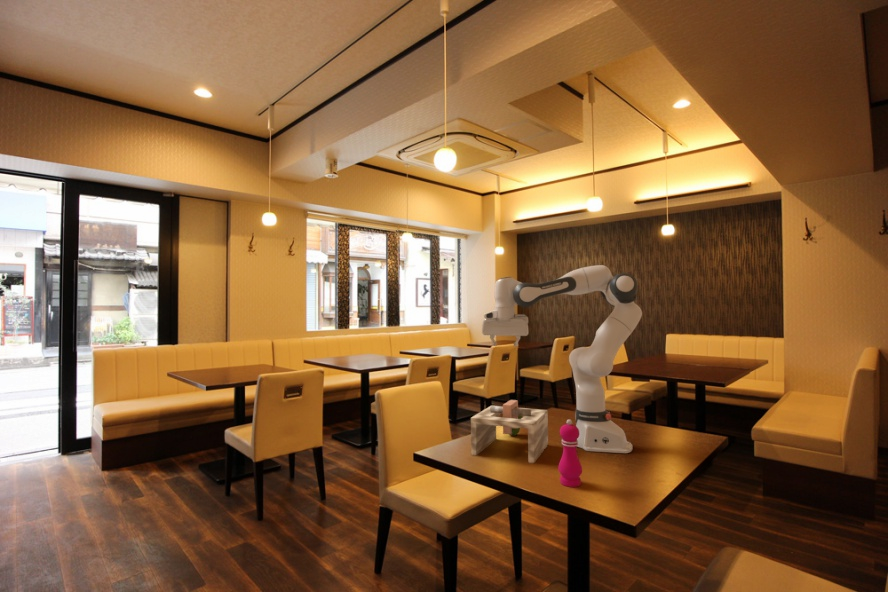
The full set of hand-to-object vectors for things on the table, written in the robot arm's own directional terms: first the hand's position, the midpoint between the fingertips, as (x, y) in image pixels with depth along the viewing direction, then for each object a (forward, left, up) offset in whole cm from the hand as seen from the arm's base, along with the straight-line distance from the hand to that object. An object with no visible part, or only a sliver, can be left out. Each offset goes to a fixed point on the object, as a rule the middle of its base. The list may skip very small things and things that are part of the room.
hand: (505, 346), depth 198 cm
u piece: (-7, +17, -32) cm, 37 cm away
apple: (-2, -3, -39) cm, 39 cm away
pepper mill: (-34, +43, -39) cm, 67 cm away
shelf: (-7, +17, -39) cm, 43 cm away
